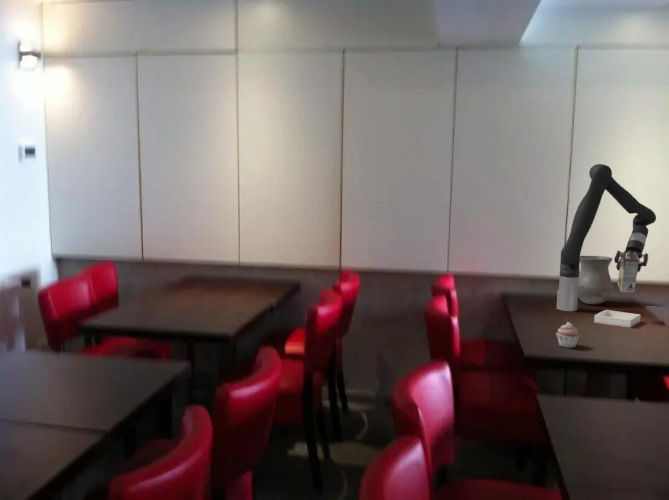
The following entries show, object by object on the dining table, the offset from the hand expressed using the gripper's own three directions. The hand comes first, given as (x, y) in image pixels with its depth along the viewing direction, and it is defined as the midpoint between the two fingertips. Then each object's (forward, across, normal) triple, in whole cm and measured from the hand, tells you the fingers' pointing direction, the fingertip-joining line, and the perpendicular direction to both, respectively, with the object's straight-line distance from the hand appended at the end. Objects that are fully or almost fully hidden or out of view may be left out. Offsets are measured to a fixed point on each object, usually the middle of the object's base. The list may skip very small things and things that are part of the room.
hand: (627, 270), depth 312 cm
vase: (-5, -24, +40) cm, 47 cm away
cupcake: (+62, -4, -28) cm, 69 cm away
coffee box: (+6, 0, +7) cm, 9 cm away
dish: (+21, -1, +13) cm, 25 cm away
